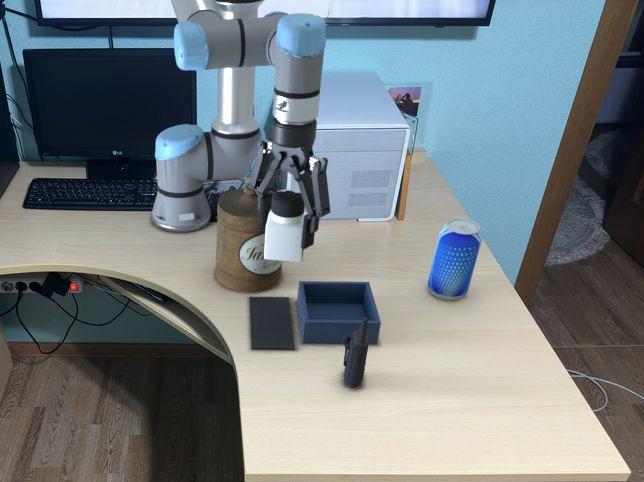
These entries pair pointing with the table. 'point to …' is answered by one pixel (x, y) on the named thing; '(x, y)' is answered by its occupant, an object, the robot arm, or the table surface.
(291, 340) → the mat
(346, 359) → the two-way radio
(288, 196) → the medicine bottle
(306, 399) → the table surface
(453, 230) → the beer can
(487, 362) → the table surface
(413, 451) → the table surface
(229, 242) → the wooden container
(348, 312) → the tote
